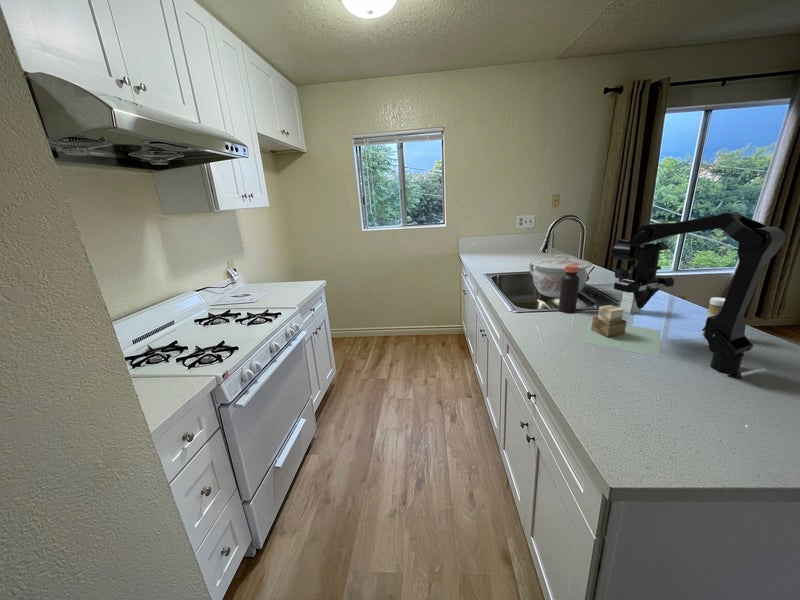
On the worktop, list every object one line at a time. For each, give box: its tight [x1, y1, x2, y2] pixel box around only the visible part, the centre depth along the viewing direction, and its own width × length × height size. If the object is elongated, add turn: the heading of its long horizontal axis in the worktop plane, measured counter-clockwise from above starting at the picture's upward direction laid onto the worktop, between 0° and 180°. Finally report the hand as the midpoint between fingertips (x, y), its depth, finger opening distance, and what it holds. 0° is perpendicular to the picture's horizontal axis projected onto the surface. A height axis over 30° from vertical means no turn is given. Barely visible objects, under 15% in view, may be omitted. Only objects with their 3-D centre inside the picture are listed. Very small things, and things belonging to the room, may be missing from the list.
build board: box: [579, 319, 661, 358], centre depth 112 cm, size 24×22×1 cm
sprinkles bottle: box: [701, 296, 726, 336], centre depth 108 cm, size 5×5×14 cm
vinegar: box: [558, 265, 580, 314], centre depth 137 cm, size 7×7×20 cm
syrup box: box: [617, 279, 642, 315], centre depth 134 cm, size 6×6×14 cm
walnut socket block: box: [591, 315, 628, 338], centre depth 114 cm, size 7×7×5 cm
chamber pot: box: [528, 254, 593, 299], centre depth 160 cm, size 28×28×21 cm
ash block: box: [597, 304, 624, 323], centre depth 113 cm, size 5×5×5 cm
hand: (639, 308), depth 108 cm, fingers closed
